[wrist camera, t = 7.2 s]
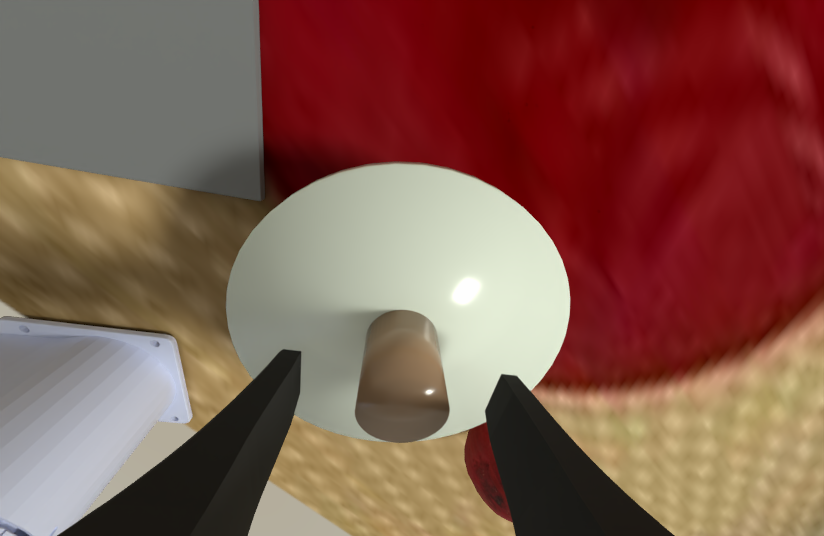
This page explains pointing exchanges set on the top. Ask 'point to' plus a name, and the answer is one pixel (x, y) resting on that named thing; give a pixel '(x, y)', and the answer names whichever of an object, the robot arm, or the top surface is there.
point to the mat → (136, 90)
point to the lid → (399, 299)
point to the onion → (485, 470)
